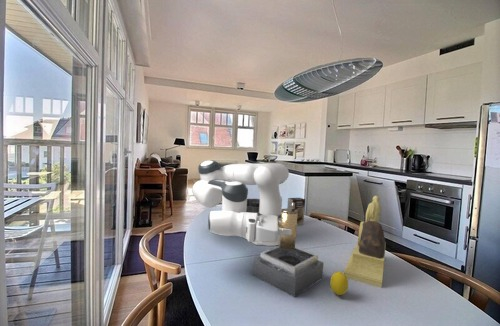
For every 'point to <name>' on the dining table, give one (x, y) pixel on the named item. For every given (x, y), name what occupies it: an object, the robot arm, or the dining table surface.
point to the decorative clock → (368, 249)
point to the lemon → (339, 283)
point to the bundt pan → (253, 205)
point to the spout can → (288, 222)
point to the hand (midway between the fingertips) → (290, 228)
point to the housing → (289, 269)
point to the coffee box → (298, 208)
